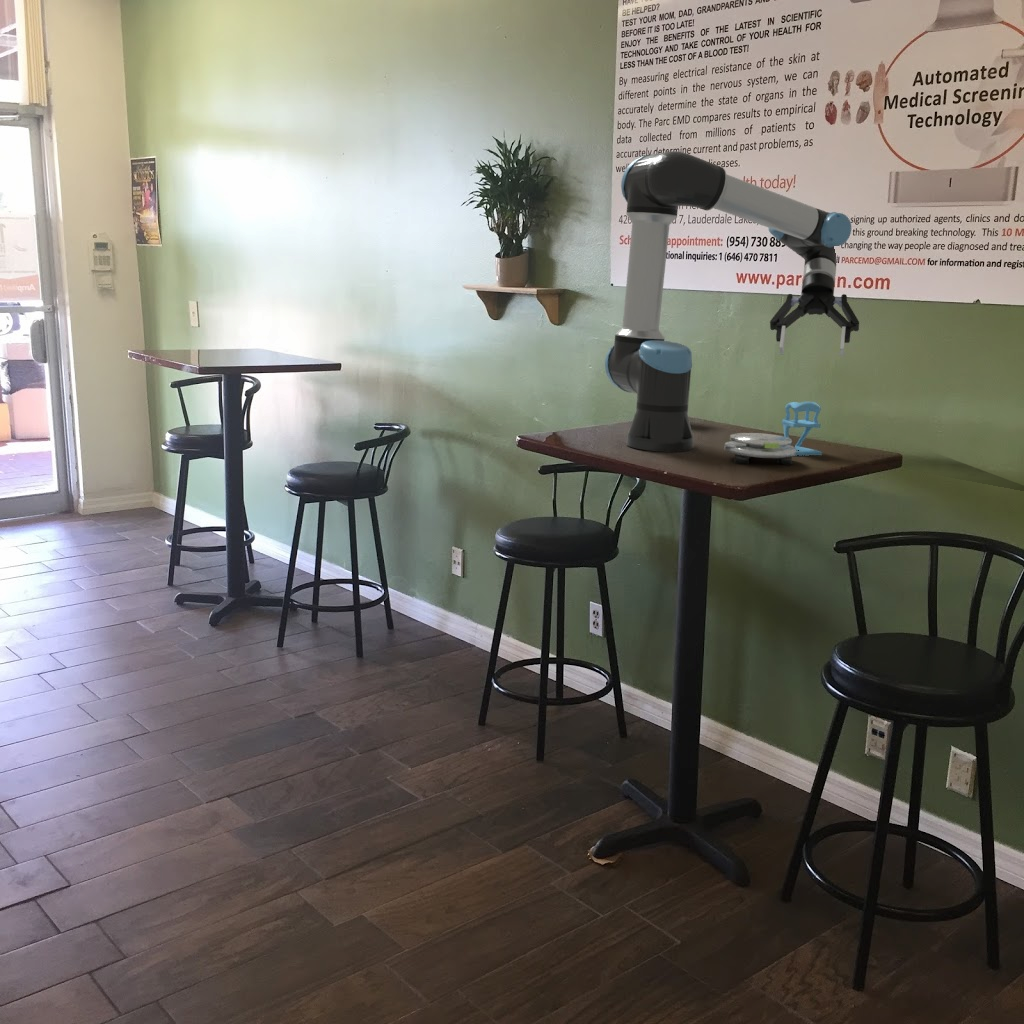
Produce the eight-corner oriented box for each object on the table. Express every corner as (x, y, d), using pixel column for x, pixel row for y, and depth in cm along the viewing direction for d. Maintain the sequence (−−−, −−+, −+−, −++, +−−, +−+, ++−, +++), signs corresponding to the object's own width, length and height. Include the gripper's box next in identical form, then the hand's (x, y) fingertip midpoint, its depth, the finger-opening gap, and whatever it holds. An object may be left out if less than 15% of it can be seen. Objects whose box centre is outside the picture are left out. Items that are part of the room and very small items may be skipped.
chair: (806, 449, 246) (811, 398, 244) (822, 456, 238) (827, 402, 236) (774, 449, 245) (779, 397, 243) (789, 455, 237) (794, 402, 235)
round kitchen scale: (735, 466, 222) (737, 443, 221) (714, 453, 236) (716, 431, 235) (805, 467, 223) (807, 444, 222) (780, 454, 238) (782, 432, 237)
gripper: (872, 292, 256) (867, 362, 247) (766, 292, 264) (757, 360, 254) (873, 271, 250) (868, 342, 240) (765, 271, 258) (755, 340, 248)
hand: (811, 351), depth 247 cm, fingers open, 13 cm apart
